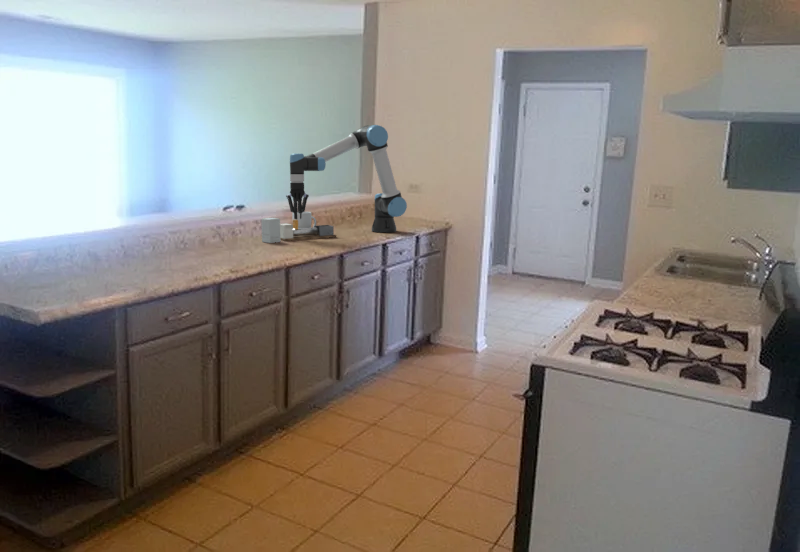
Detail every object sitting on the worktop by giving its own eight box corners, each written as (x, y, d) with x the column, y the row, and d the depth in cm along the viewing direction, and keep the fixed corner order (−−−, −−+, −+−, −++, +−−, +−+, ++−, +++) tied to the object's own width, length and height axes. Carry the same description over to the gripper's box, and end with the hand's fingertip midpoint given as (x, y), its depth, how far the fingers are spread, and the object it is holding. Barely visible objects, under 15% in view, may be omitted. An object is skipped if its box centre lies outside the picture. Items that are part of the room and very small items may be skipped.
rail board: (328, 235, 391) (328, 233, 391) (336, 237, 384) (336, 235, 383) (277, 239, 373) (277, 237, 373) (284, 241, 366) (284, 239, 366)
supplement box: (281, 242, 363) (280, 218, 360) (269, 243, 358) (269, 219, 355) (272, 240, 368) (272, 217, 365) (261, 241, 363) (260, 218, 360)
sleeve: (327, 233, 389) (327, 224, 388) (333, 235, 384) (333, 226, 383) (314, 234, 384) (314, 225, 383) (319, 236, 379) (319, 227, 378)
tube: (314, 234, 383) (313, 218, 381) (317, 235, 379) (317, 219, 378) (284, 236, 373) (284, 220, 371) (288, 237, 369) (287, 220, 368)
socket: (287, 236, 375) (287, 223, 374) (293, 238, 369) (293, 224, 368) (278, 237, 372) (278, 223, 371) (284, 238, 366) (284, 225, 365)
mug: (311, 232, 402) (310, 210, 399) (321, 234, 393) (320, 212, 391) (289, 234, 392) (288, 212, 390) (298, 236, 384) (298, 213, 382)
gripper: (304, 181, 376) (305, 223, 380) (283, 181, 369) (284, 225, 373) (311, 182, 370) (311, 225, 374) (289, 182, 362) (290, 226, 367)
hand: (297, 225), depth 374 cm, fingers closed
